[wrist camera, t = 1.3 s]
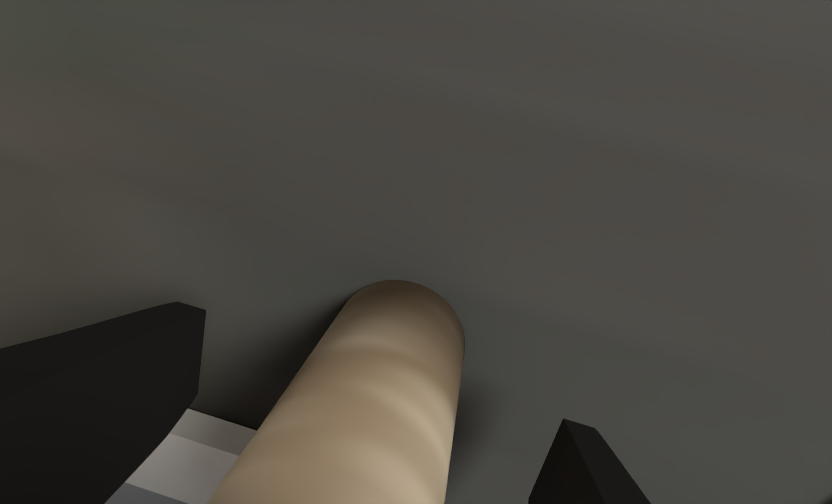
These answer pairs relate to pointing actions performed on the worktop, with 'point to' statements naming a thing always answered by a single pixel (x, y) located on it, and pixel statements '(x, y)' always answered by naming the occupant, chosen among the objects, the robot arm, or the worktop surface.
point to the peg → (363, 409)
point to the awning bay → (186, 462)
